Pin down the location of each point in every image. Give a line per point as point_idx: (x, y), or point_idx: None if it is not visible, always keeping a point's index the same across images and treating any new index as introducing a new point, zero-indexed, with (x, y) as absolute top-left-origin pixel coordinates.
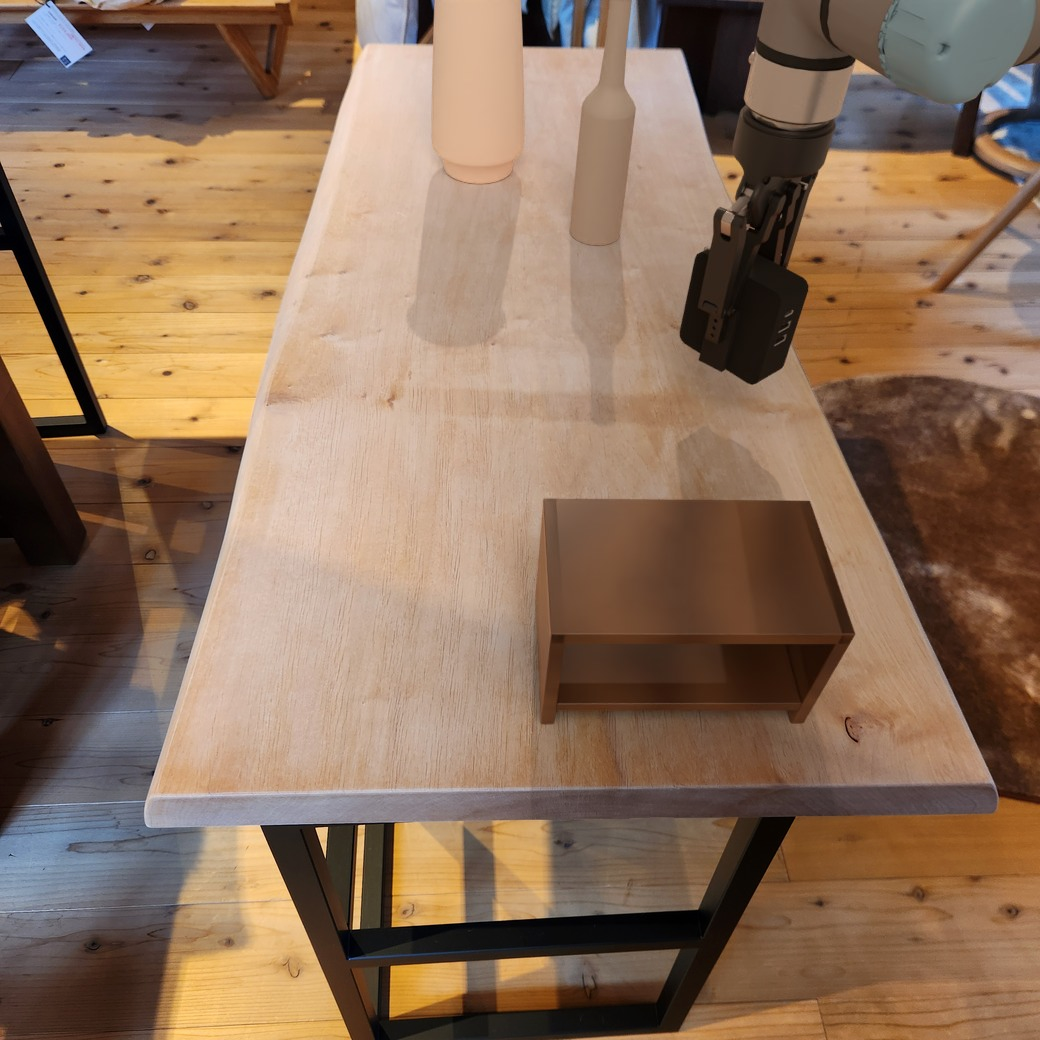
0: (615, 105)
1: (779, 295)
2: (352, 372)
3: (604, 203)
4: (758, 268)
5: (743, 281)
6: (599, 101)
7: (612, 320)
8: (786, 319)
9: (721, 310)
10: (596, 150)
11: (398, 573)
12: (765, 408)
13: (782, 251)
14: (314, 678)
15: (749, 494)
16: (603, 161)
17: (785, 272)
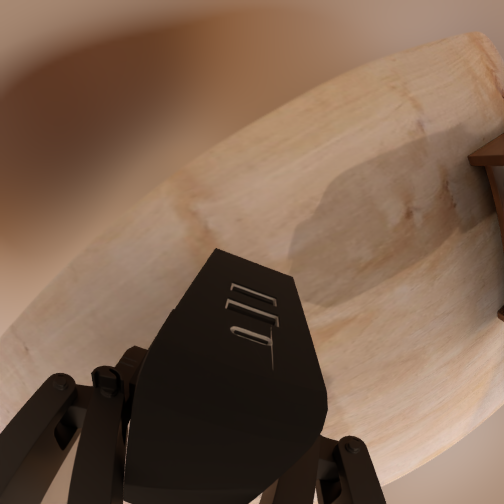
0: None
1: (322, 427)
2: None
3: (72, 462)
4: (195, 484)
5: (300, 495)
6: None
7: None
8: (257, 327)
9: (369, 456)
10: (64, 500)
11: (484, 382)
12: (202, 234)
13: (55, 424)
14: None
15: (371, 203)
16: (62, 491)
17: (151, 437)
